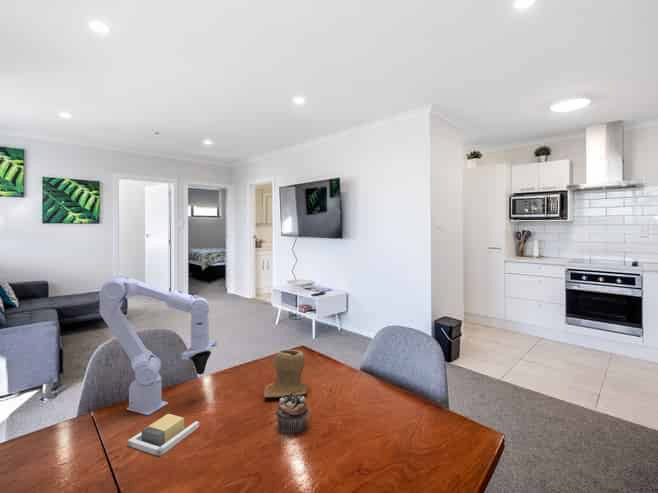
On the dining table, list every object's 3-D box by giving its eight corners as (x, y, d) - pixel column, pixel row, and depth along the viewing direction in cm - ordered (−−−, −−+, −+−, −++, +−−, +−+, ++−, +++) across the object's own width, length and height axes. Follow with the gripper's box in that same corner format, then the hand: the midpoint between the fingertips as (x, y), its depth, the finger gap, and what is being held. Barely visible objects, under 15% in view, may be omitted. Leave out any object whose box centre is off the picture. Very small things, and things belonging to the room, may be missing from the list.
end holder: (127, 445, 92) (127, 440, 92) (169, 418, 106) (169, 414, 105) (159, 456, 88) (159, 450, 88) (199, 426, 101) (199, 421, 101)
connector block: (141, 444, 93) (141, 430, 93) (168, 426, 102) (168, 413, 101) (158, 449, 91) (158, 435, 91) (184, 431, 99) (184, 417, 99)
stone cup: (304, 383, 130) (304, 344, 130) (308, 399, 119) (308, 356, 118) (264, 386, 128) (264, 347, 127) (263, 402, 116) (263, 359, 115)
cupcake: (314, 423, 104) (314, 391, 103) (295, 440, 95) (295, 405, 95) (289, 414, 109) (289, 383, 108) (268, 429, 100) (269, 396, 100)
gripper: (193, 342, 107) (194, 384, 108) (223, 329, 121) (223, 367, 122) (176, 339, 110) (176, 380, 111) (207, 327, 124) (207, 364, 124)
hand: (200, 373), depth 116 cm, fingers closed
